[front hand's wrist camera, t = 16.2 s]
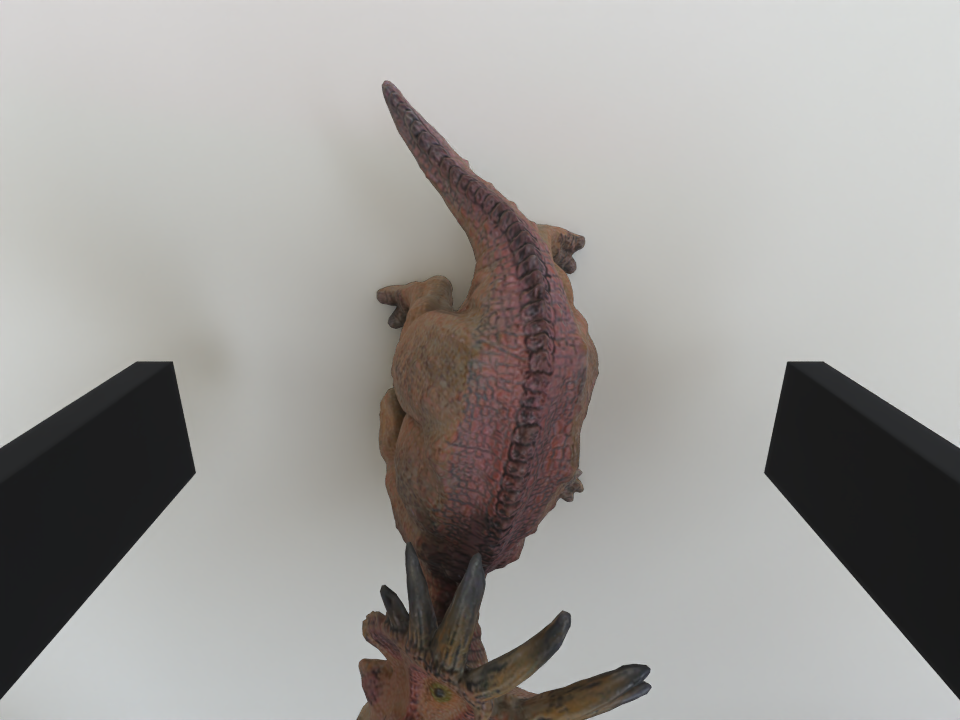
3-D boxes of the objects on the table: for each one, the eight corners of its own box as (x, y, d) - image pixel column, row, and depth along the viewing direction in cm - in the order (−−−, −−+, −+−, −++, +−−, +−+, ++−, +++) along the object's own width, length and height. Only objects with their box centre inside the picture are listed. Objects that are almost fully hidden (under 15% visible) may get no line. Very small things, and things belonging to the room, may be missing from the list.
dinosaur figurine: (575, 567, 18) (660, 956, 9) (391, 564, 18) (306, 950, 9) (618, 95, 13) (875, -1, 5) (367, 91, 13) (145, -13, 5)
